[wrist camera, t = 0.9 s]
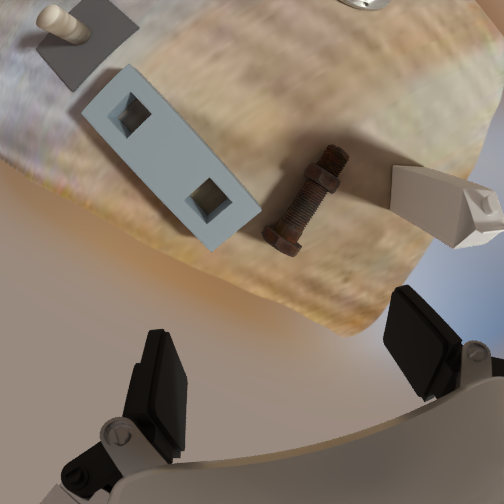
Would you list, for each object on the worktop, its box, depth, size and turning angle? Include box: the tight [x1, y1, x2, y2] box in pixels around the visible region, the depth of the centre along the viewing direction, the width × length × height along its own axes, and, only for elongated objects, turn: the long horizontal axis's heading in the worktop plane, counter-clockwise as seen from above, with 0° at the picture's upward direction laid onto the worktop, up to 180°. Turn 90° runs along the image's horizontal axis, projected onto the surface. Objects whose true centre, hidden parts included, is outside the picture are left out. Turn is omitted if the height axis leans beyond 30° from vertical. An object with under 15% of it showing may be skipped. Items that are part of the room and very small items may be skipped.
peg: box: [36, 5, 92, 46], centre depth 19 cm, size 3×3×10 cm
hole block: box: [81, 64, 262, 252], centre depth 31 cm, size 24×8×4 cm, turn 39°
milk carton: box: [390, 165, 504, 249], centre depth 30 cm, size 7×7×19 cm
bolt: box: [262, 145, 349, 257], centre depth 35 cm, size 6×5×15 cm
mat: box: [36, 0, 139, 92], centre depth 24 cm, size 12×12×1 cm
